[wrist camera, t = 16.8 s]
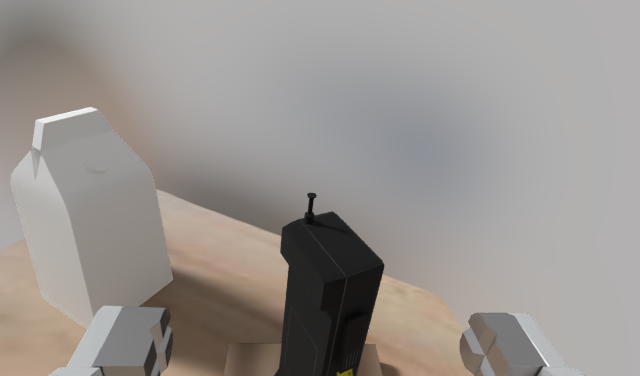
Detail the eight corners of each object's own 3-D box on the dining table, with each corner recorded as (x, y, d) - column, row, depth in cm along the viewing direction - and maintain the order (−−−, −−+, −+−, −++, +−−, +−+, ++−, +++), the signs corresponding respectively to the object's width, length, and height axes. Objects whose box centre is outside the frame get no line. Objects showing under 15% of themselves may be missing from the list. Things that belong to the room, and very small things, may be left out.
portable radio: (355, 437, 36) (418, 239, 24) (302, 470, 33) (341, 264, 21) (317, 370, 42) (351, 181, 29) (268, 393, 39) (282, 195, 26)
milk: (120, 250, 59) (87, 91, 46) (173, 279, 55) (153, 114, 42) (41, 298, 50) (-29, 114, 37) (98, 337, 46) (42, 147, 33)
